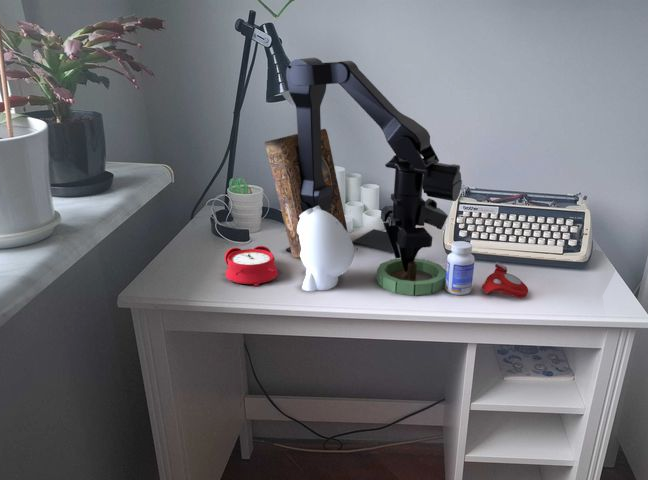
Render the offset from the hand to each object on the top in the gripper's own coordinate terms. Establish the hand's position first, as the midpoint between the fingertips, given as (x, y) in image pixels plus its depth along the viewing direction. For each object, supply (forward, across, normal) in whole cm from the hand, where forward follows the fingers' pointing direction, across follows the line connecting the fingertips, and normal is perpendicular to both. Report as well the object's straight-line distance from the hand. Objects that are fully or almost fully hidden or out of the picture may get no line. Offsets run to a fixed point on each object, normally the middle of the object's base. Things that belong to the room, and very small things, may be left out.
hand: (402, 264), depth 135 cm
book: (+2, +15, +15) cm, 22 cm away
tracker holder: (+1, -13, -18) cm, 23 cm away
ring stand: (+1, -6, 0) cm, 6 cm away
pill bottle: (+1, -12, -8) cm, 15 cm away
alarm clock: (+2, +3, +31) cm, 32 cm away
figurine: (+2, -3, +17) cm, 17 cm away
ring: (+1, -6, 0) cm, 6 cm away
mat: (+2, +18, 0) cm, 18 cm away
